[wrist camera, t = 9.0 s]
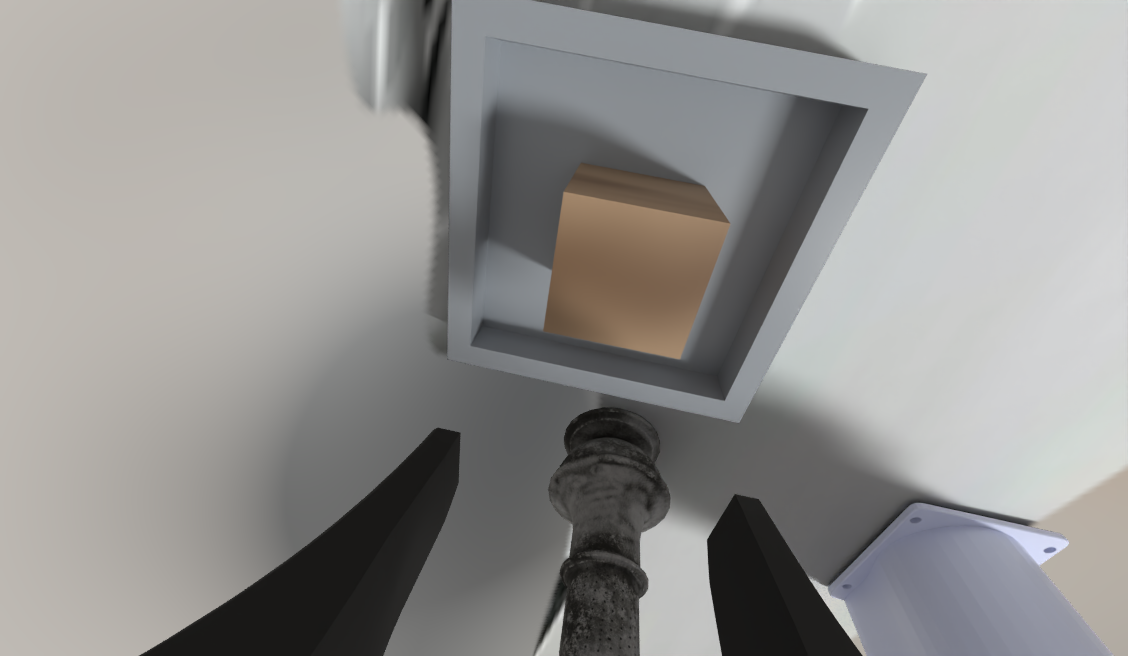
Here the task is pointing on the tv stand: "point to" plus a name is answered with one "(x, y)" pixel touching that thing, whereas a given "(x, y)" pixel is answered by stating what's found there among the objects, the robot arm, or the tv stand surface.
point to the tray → (656, 148)
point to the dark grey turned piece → (606, 528)
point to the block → (632, 259)
